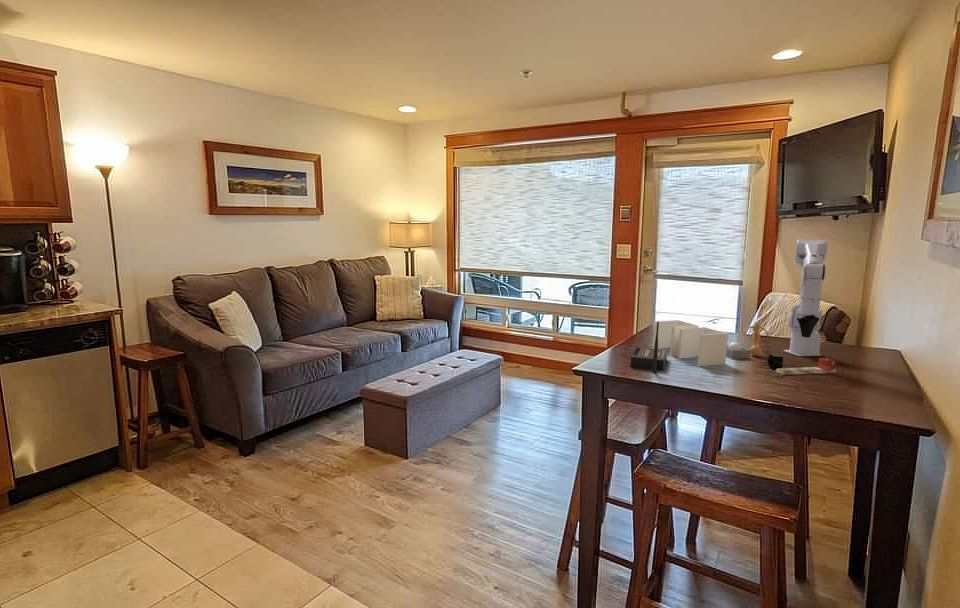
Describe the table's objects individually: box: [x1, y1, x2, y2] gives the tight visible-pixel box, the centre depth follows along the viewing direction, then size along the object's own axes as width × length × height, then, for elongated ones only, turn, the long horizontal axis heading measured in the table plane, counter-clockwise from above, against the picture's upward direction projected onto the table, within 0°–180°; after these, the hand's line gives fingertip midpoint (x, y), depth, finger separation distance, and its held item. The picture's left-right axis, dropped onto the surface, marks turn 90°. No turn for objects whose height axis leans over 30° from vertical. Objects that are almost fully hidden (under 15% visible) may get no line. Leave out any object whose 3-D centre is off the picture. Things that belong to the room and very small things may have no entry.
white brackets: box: [652, 319, 729, 367], centre depth 184 cm, size 25×11×11 cm, turn 19°
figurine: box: [743, 323, 769, 357], centre depth 187 cm, size 8×6×12 cm
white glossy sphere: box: [727, 341, 743, 350], centre depth 186 cm, size 5×5×5 cm
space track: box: [775, 357, 837, 376], centre depth 166 cm, size 20×4×4 cm, turn 100°
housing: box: [726, 345, 751, 360], centre depth 186 cm, size 7×7×3 cm
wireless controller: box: [630, 322, 668, 374], centre depth 171 cm, size 20×14×17 cm
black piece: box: [760, 353, 785, 371], centre depth 173 cm, size 12×7×5 cm, turn 176°
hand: (805, 337), depth 177 cm, fingers closed
